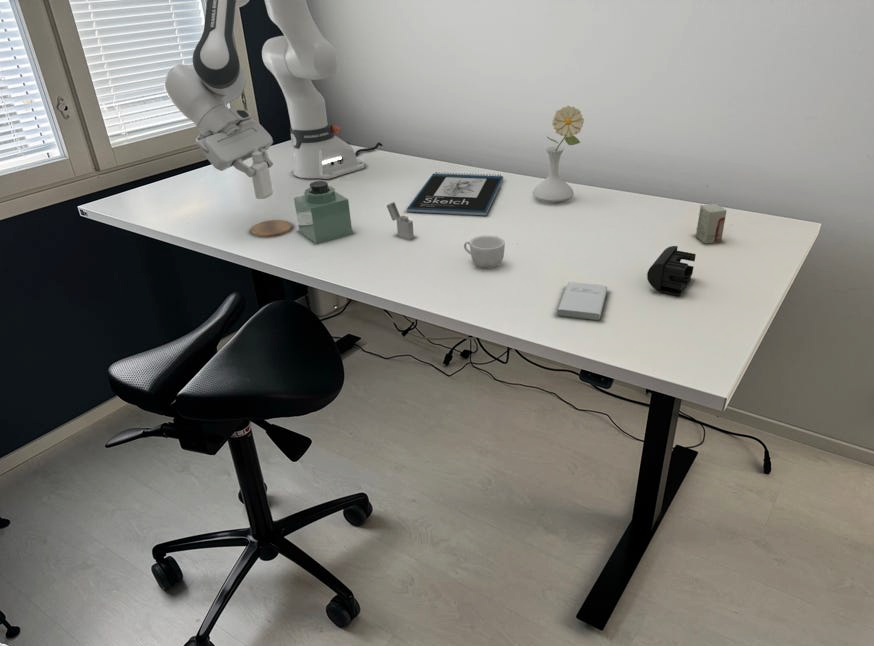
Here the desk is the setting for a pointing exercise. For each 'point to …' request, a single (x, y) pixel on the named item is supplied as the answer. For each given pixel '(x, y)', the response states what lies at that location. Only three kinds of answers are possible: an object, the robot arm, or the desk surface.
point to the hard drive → (582, 301)
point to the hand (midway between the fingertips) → (262, 170)
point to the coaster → (271, 228)
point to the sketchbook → (457, 194)
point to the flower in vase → (553, 185)
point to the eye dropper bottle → (261, 176)
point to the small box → (711, 223)
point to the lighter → (401, 222)
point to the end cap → (671, 271)
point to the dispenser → (323, 215)
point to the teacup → (486, 251)
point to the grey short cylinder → (319, 187)
